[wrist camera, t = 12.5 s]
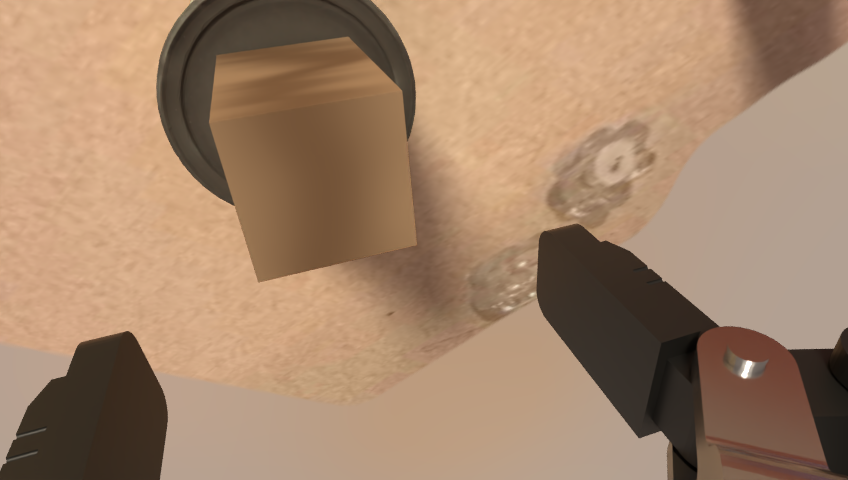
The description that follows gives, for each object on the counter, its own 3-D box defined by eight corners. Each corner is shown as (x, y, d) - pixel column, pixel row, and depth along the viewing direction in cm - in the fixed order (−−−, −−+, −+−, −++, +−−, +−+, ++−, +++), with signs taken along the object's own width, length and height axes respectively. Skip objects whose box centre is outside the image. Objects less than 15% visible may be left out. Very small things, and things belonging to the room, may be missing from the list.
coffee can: (384, 21, 34) (462, 72, 23) (302, 149, 37) (335, 252, 25) (236, -94, 29) (239, -103, 17) (153, 66, 31) (108, 150, 20)
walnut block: (348, 36, 20) (402, 90, 14) (365, 154, 23) (417, 245, 17) (216, 55, 19) (209, 122, 13) (250, 176, 22) (258, 282, 16)
